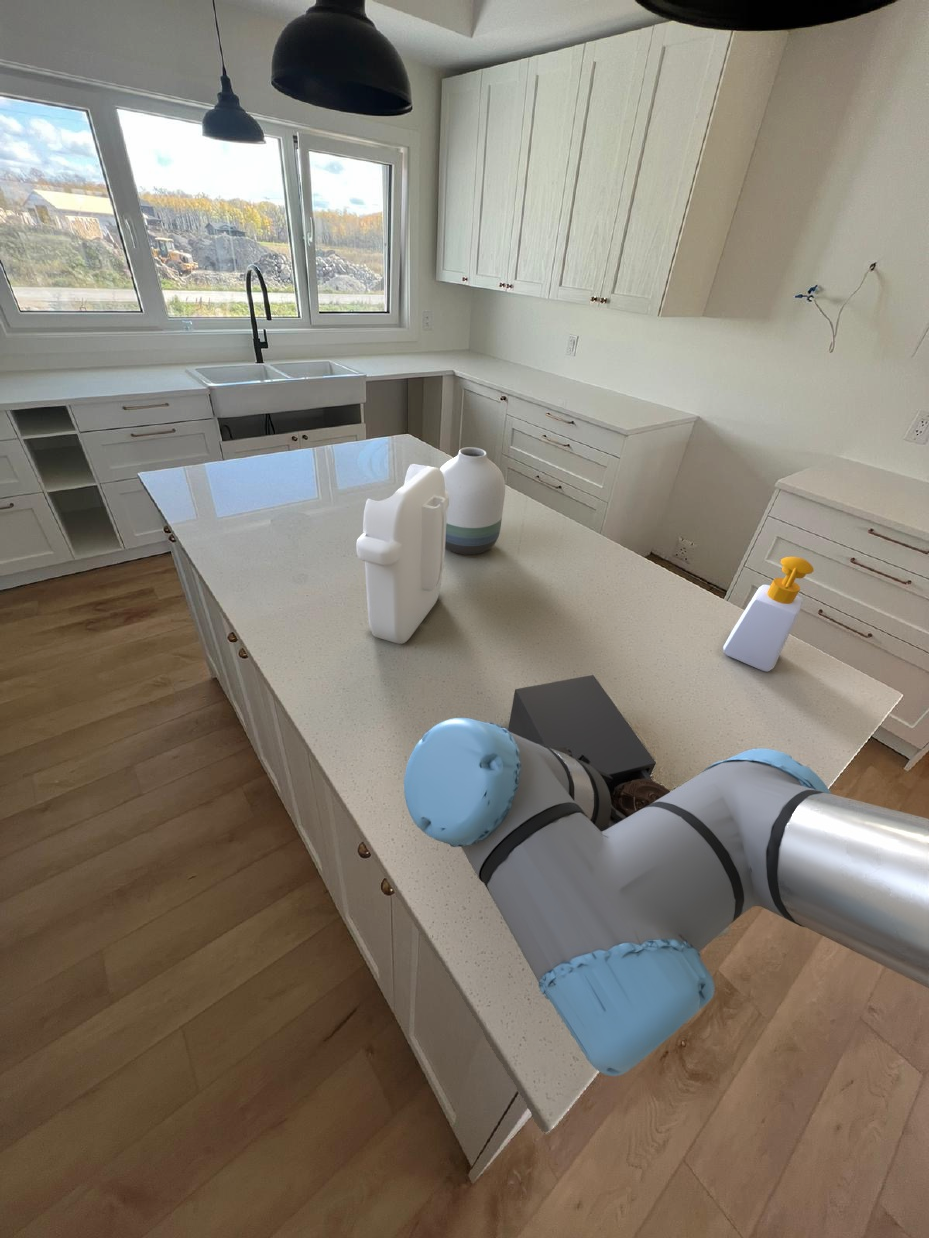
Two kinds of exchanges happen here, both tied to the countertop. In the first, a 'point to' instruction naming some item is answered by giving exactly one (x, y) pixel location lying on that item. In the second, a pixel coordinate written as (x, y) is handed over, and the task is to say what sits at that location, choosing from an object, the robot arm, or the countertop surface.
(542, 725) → the black drawer box
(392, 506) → the white jerry can
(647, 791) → the coffee cup
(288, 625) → the countertop surface
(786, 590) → the soap bottle
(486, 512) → the vase
